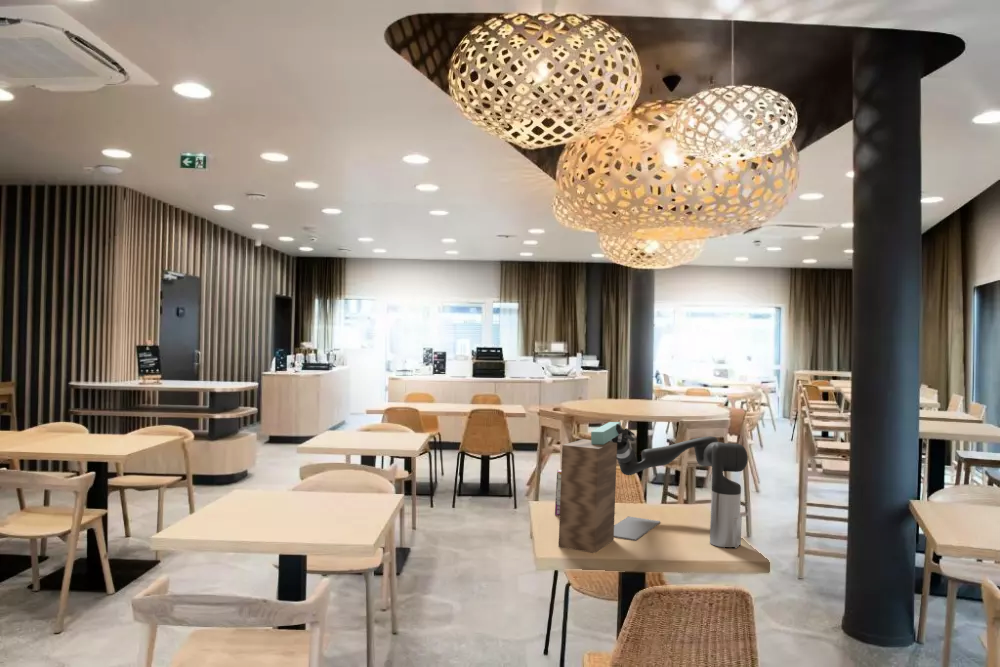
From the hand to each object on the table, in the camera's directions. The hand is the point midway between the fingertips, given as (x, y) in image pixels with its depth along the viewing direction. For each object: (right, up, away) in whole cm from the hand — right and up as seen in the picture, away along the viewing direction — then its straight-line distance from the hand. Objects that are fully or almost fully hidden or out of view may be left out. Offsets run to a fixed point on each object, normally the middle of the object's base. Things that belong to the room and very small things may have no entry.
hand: (610, 426), depth 251 cm
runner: (+8, -36, +4) cm, 37 cm away
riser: (-10, -35, -18) cm, 41 cm away
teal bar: (-2, -3, -6) cm, 7 cm away
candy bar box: (-12, -36, +20) cm, 43 cm away
